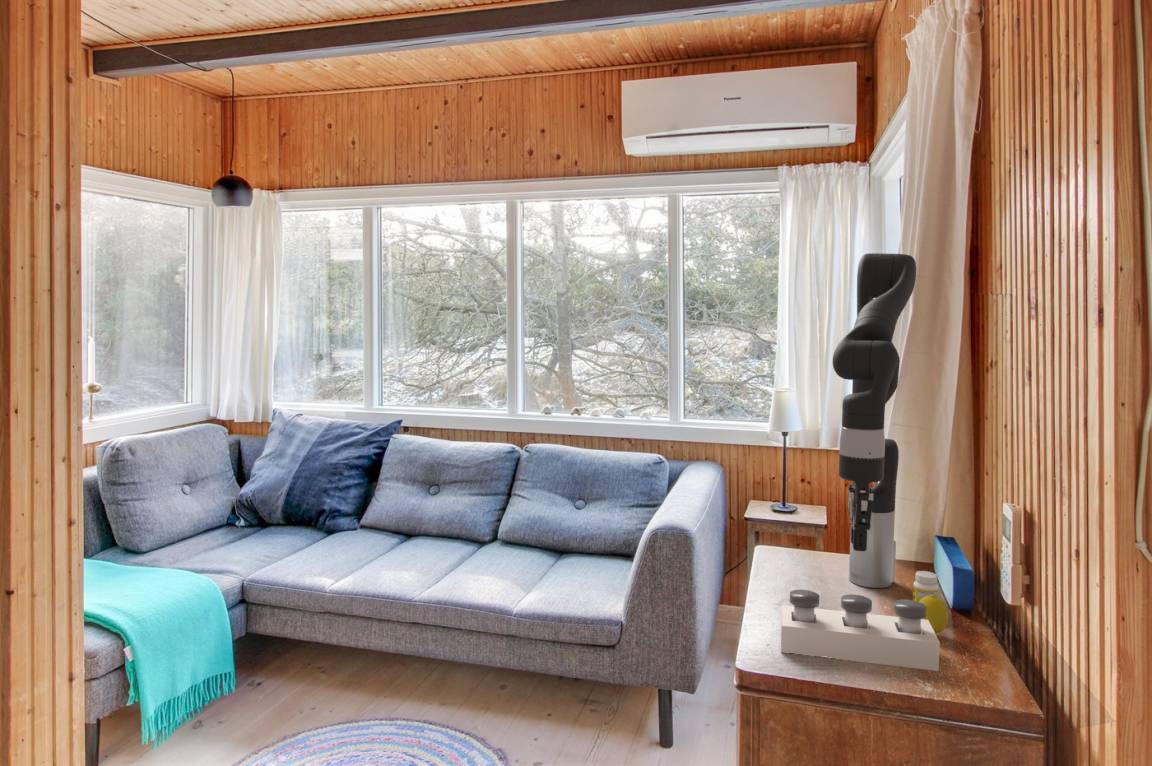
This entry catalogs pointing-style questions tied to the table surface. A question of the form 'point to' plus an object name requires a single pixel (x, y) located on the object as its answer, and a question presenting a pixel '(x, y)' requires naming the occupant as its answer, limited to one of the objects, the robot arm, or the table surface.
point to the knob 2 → (909, 615)
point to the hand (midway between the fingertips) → (858, 546)
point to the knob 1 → (804, 605)
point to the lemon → (935, 612)
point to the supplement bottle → (925, 585)
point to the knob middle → (856, 610)
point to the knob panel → (860, 639)
